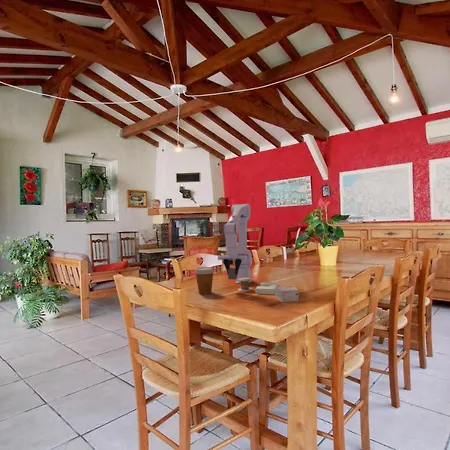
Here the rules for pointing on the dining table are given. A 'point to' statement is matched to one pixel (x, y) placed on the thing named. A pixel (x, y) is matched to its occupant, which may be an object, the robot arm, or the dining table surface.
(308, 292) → the dining table surface
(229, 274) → the block
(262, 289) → the notch board
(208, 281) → the disposable coffee cup
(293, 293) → the small box
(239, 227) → the robot arm
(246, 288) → the bobbin post
